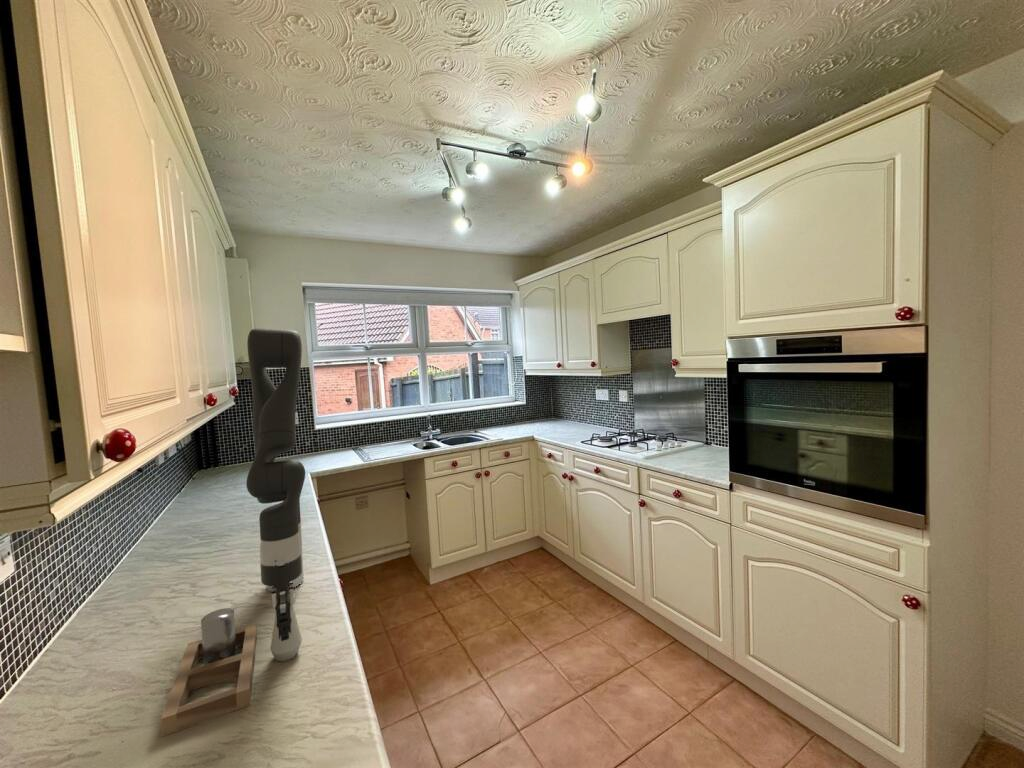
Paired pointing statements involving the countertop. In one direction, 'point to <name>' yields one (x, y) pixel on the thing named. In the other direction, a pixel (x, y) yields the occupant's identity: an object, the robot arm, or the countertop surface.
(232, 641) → the pepper shaker
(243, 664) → the spice rail
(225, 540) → the countertop surface
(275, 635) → the salt shaker
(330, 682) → the countertop surface
